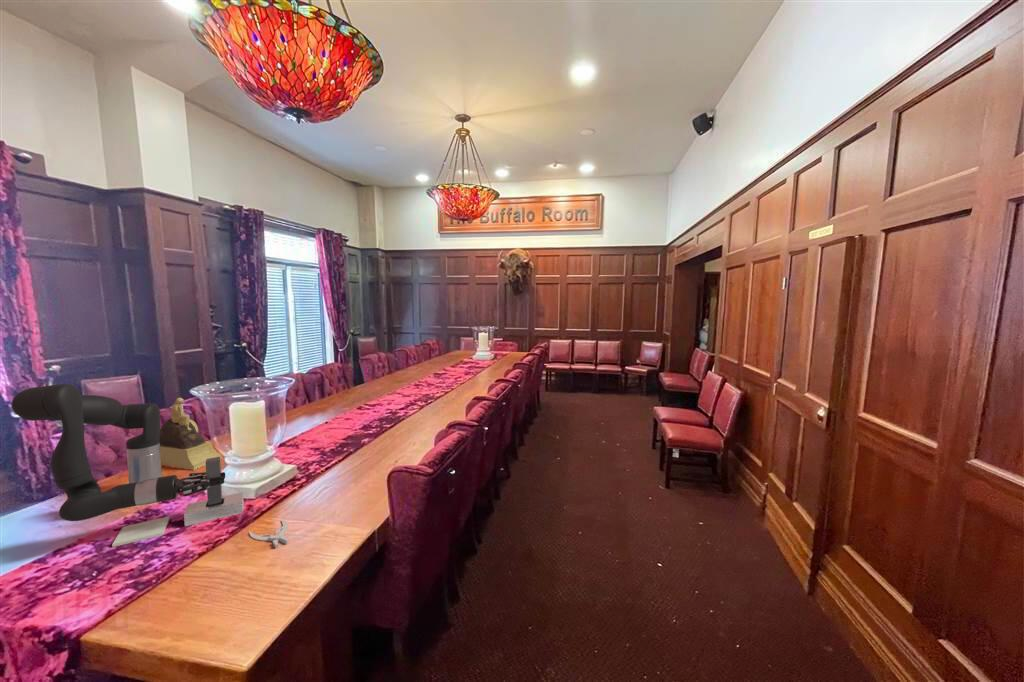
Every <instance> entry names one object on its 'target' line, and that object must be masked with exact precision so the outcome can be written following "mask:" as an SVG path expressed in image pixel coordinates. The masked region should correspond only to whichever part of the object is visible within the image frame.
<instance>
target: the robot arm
mask: <svg viewBox="0 0 1024 682" xmlns="http://www.w3.org/2000/svg"><path fill="white" fill-rule="evenodd" d="M11 408H12V410H13V412H14V414H15V415H17V416H18V417H19V418H20V419H21V418H22V419H24V420H27V421H32V422H33V421H34V422H35V421H61V424H62V431H61V435H60V438H59V441H58V442H57V444H56V446H55V448H54V450H53V452H52V454H51V457H50V462H49V463H50V469H51V473H52V476H53V480H54V483H55V485H56V487H57V488H58V489H60V490H63V491H64V492H65V494H66V497H67V499H66V500H65V501H64V502H63V503H62V505H61V507H60V508H59V512H58V514H59V517H60V518H61V519H62V520H64V521H66V522H67V521H68V522H79V521H85V520H88V519H92V518H96V517H99V516H101V515H105V514H108V513H111V512H114V511H116V510H121V509H127V508H131V507H136V506H146V505H153V504H156V503H161V502H166V501H171V500H175V499H177V498H178V494H183V497H188V496H190V495H191V496H192V495H195V494H197V493H200V492H204V491H207V488H209V487H210V486H214V485H219V484H222V485H224V484H225V479H226V472H224V471H223V472H222V471H221V477H218V478H213V479H206V471H205V472H204V471H203V472H202V471H201V472H191V473H189V474H188V476H185V477H183V478H178V475H177V474H173V475H172V474H171V475H167V476H165V475H164V476H163V470H162V469H163V466H161V452H160V429H161V410H160V407H159V405H158V404H157V403H154V402H153V403H152V402H151V403H150V402H149V403H135V404H134V403H131V404H122V403H121V402H120V400H118V399H115V398H113V397H109V396H105V395H97V394H96V395H95V394H94V395H91V394H87V395H86V394H85V395H82V394H81V392H80V390H79V389H78V388H77V387H76V386H75V385H73V384H71V383H60V384H59V383H58V384H50V385H44V386H35V387H30V388H27V389H24V390H21V391H20V392H18V393H17V394H16V395H15V396H14V397H13V399H12V401H11ZM85 425H94V426H113V427H117V428H119V429H124V430H125V429H126V430H135V429H136V430H137V429H142V433H141V434H139V435H136V436H133V437H131V438H129V439H128V440H126V442H125V446H126V447H125V448H126V459H127V475H128V483H123V484H120V485H117V486H114V487H112V488H111V489H108V490H107V491H103V492H102V488H100V484H99V483H98V482H97V480H96V478H95V476H93V474H92V469H91V465H90V461H89V459H88V454H87V450H86V442H85V440H86V439H85ZM98 484H99V485H98Z"/></svg>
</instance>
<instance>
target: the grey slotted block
mask: <svg viewBox="0 0 1024 682" xmlns="http://www.w3.org/2000/svg"><path fill="white" fill-rule="evenodd" d="M222 501H223V504H220V505H216V506H211V507H208V499H204V500H200V501H199V500H198V501H195V502H190V503H187V505H186V507H185V510H184V513H183V518H184V520H183V521H184V527H189V526H193V525H197V524H201V523H205V522H209V521H213V519H214V520H217V518H219V519H222V517H223V518H226V517H231V516H234V515H240V514H243V512H244V504H245V502H244V492H237V493H233V494H229V495H222Z"/></svg>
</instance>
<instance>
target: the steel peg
mask: <svg viewBox="0 0 1024 682" xmlns="http://www.w3.org/2000/svg"><path fill="white" fill-rule="evenodd" d="M221 463H222V462H221V460H220V457H215V458H209V459H207V460H206V466H205V472H206V479H213V478H218V477H221V473H222V468H221V466H222V465H221ZM222 485H223V484H219V485H214V486H210V487H209V488H207V490H206V494H207V495H206V498H207V500H208V507H211V506H216V505H220V504H223V501H222V497H223V486H222Z"/></svg>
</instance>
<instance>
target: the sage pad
mask: <svg viewBox="0 0 1024 682" xmlns="http://www.w3.org/2000/svg"><path fill="white" fill-rule="evenodd" d="M169 522H170V516H165V517H161V518H156V519H152V520H147V521H143V522H139V523H133V524H128V525H125V526H122V528H121V529H120V531H119V532H118V535H117V536H116V538H115V539H114V541H113V542H112V545H111V546H112V548H113V547H114V548H115V547H119V546H123V545H127V544H132V543H135V542H136V543H137V542H140V541H143V540H148V539H151V538H157V537H160V536H161V537H162V536H164V533H165V531H166V529H167V527H168V524H169Z"/></svg>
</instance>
